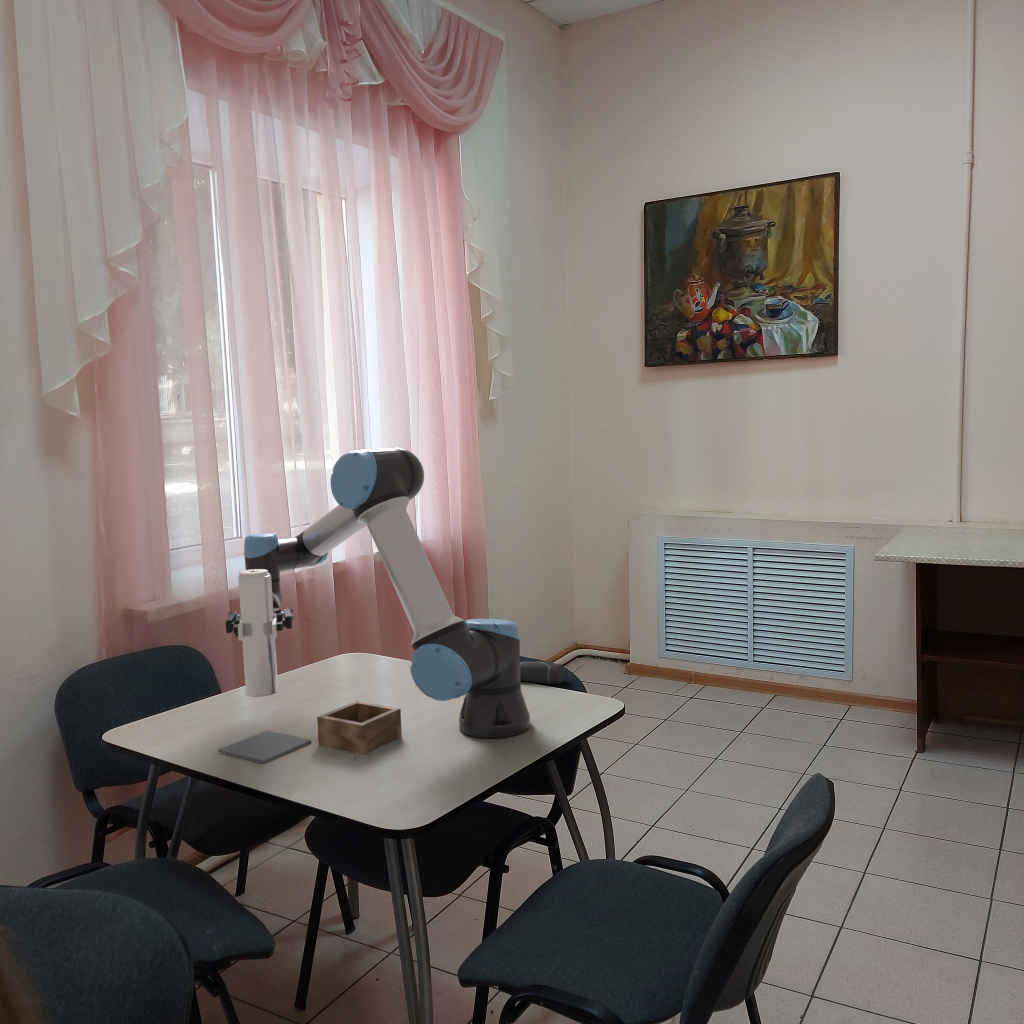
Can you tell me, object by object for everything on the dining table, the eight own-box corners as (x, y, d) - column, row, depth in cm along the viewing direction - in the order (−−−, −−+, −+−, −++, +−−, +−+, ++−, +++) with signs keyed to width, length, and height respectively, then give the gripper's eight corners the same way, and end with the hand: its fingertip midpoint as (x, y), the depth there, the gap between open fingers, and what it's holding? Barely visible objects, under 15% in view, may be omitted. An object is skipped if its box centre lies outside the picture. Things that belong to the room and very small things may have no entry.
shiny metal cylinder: (269, 697, 182) (261, 573, 180) (239, 696, 184) (231, 573, 181) (283, 688, 189) (276, 567, 186) (254, 687, 190) (247, 567, 187)
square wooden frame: (401, 736, 191) (400, 708, 190) (363, 755, 181) (361, 725, 180) (358, 728, 197) (356, 700, 197) (318, 745, 187) (317, 716, 187)
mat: (311, 742, 189) (311, 739, 189) (263, 763, 178) (263, 760, 178) (266, 733, 196) (266, 730, 196) (218, 752, 185) (218, 749, 185)
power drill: (542, 699, 215) (465, 692, 223) (569, 678, 232) (496, 672, 240) (541, 677, 214) (464, 671, 222) (568, 657, 231) (496, 652, 239)
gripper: (306, 623, 205) (306, 647, 182) (219, 629, 200) (208, 655, 178) (304, 590, 204) (305, 610, 181) (216, 595, 200) (205, 617, 177)
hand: (257, 632), depth 180 cm, fingers closed on shiny metal cylinder, 6 cm apart
